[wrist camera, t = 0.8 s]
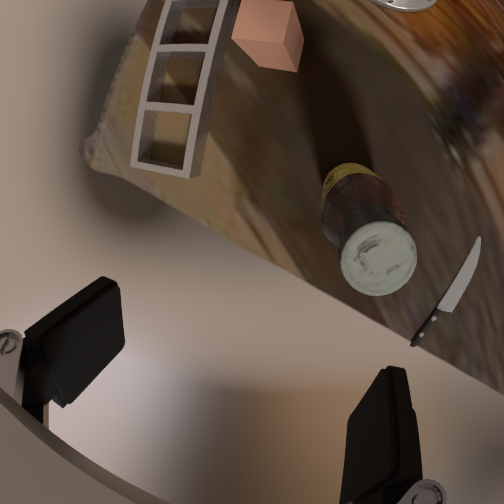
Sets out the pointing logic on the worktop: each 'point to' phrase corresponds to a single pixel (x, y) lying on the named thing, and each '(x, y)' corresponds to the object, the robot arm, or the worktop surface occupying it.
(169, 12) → the hole rail
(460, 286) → the chef's knife
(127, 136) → the worktop surface
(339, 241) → the sauce bottle
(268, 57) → the square peg
